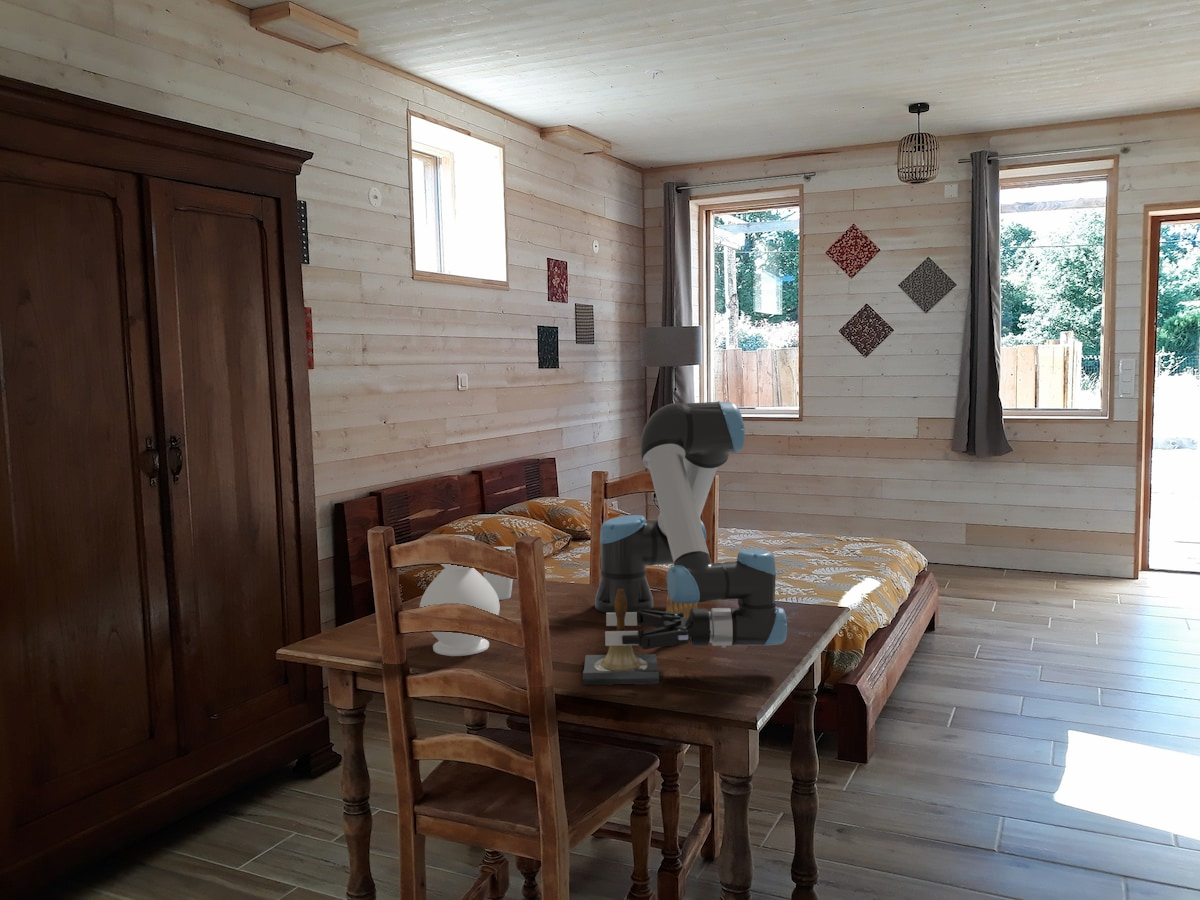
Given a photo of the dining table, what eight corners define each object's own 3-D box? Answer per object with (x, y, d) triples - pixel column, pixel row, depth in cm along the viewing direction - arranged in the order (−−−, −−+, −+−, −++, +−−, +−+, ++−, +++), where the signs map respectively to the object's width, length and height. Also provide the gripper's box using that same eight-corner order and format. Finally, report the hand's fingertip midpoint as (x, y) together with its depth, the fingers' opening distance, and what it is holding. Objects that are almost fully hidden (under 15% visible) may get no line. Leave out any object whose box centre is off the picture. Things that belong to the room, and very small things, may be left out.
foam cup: (475, 597, 254) (473, 550, 252) (502, 591, 260) (501, 545, 259) (495, 603, 247) (494, 555, 245) (523, 596, 253) (521, 549, 252)
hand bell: (644, 659, 194) (643, 584, 193) (636, 672, 186) (635, 594, 185) (605, 657, 196) (604, 583, 195) (596, 670, 188) (595, 593, 187)
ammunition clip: (670, 646, 207) (669, 594, 206) (663, 645, 208) (663, 592, 207) (699, 635, 215) (699, 584, 214) (693, 634, 216) (692, 583, 215)
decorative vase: (433, 664, 198) (428, 549, 195) (412, 642, 214) (408, 535, 211) (511, 652, 205) (508, 540, 203) (486, 631, 221) (483, 528, 219)
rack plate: (585, 660, 199) (585, 649, 198) (655, 659, 198) (655, 648, 198) (583, 685, 184) (582, 672, 183) (659, 684, 183) (658, 671, 183)
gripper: (715, 665, 178) (605, 666, 179) (704, 627, 203) (606, 628, 203) (715, 626, 177) (604, 628, 178) (703, 593, 202) (606, 595, 203)
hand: (605, 628), depth 191 cm, fingers open, 13 cm apart
